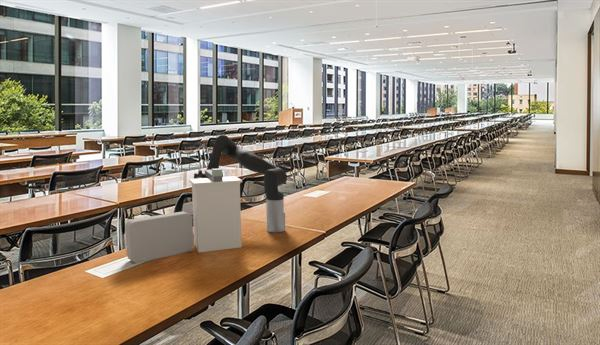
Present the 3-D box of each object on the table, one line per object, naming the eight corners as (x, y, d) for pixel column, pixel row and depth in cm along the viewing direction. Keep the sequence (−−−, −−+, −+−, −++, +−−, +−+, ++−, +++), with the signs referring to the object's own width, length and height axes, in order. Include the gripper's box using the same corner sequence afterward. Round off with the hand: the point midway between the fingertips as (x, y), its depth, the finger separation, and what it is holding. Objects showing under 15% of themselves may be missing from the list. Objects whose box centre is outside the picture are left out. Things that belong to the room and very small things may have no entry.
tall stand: (236, 239, 226) (235, 176, 221) (243, 247, 213) (242, 180, 208) (192, 244, 218) (189, 179, 213) (196, 253, 205) (193, 183, 200)
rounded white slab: (186, 246, 214) (184, 209, 212) (193, 250, 209) (192, 212, 206) (125, 259, 197) (122, 219, 194) (131, 264, 191) (128, 222, 188)
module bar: (212, 174, 227) (212, 163, 227) (222, 181, 205) (222, 169, 205) (204, 174, 226) (204, 163, 225) (213, 181, 204) (213, 169, 203)
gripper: (191, 177, 236) (194, 165, 221) (218, 175, 241) (223, 163, 226) (192, 191, 233) (196, 179, 219) (220, 189, 238) (225, 177, 224)
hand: (210, 171), depth 223 cm, fingers open, 8 cm apart
